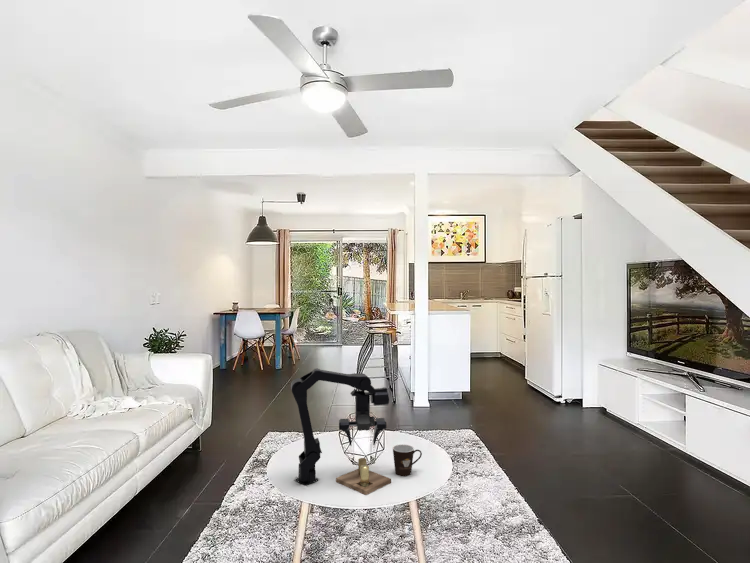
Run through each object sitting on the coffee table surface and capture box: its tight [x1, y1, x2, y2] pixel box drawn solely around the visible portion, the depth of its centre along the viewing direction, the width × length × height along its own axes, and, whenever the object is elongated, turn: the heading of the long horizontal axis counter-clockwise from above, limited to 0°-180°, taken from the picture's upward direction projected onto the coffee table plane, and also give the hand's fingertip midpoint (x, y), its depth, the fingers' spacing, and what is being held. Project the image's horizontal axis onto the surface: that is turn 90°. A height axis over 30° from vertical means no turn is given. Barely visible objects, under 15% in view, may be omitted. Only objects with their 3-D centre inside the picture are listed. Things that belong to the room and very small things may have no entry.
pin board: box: [335, 457, 392, 496], centre depth 178 cm, size 16×14×7 cm
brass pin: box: [360, 464, 370, 487], centre depth 173 cm, size 3×3×8 cm
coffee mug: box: [392, 444, 423, 477], centre depth 186 cm, size 12×9×10 cm
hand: (362, 445), depth 184 cm, fingers open, 9 cm apart
